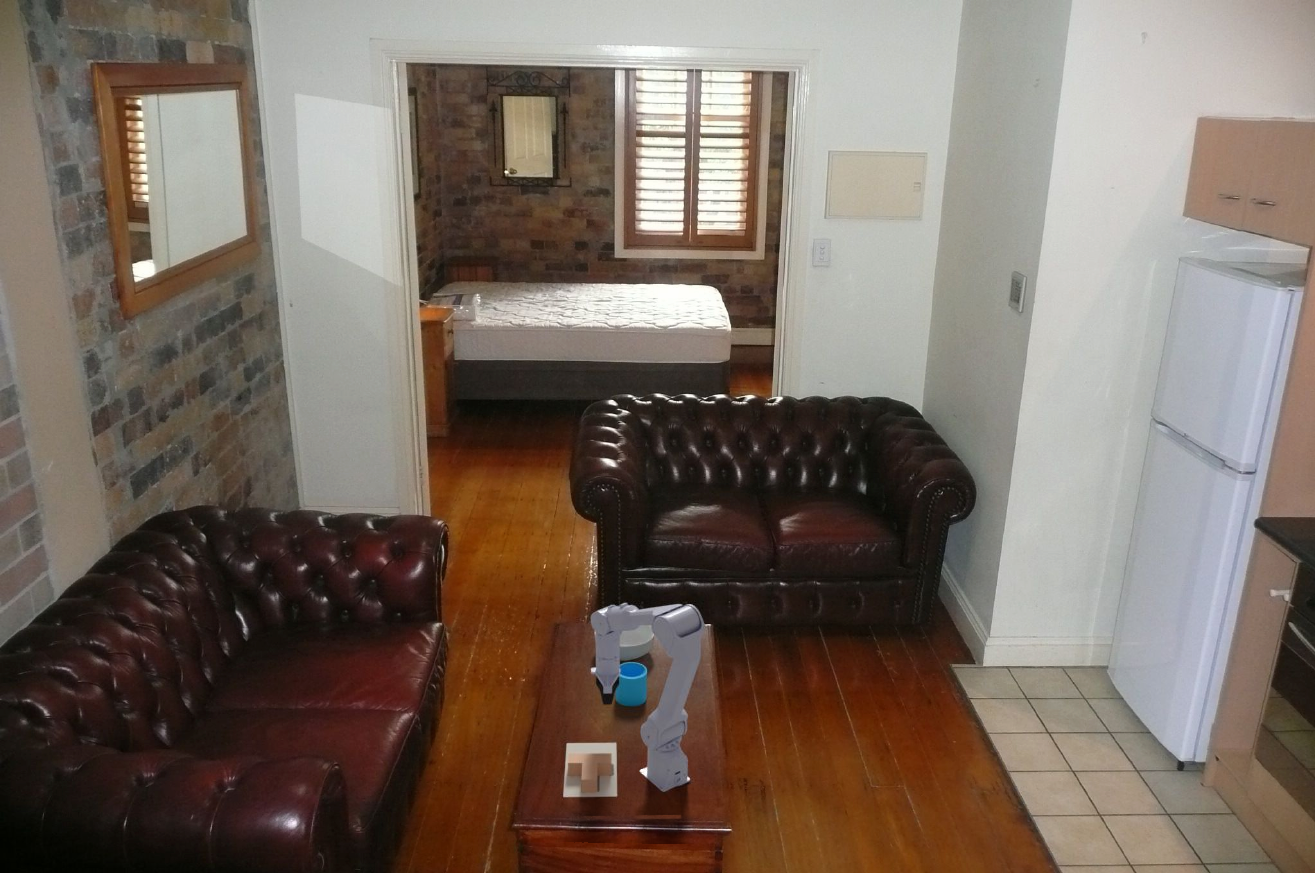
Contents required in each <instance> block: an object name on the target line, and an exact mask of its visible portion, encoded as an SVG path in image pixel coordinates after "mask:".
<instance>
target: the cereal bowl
mask: <svg viewBox="0 0 1315 873" xmlns="http://www.w3.org/2000/svg"><path fill="white" fill-rule="evenodd" d="M655 637H656V635H655V634H653V632H652V628H651V625H640V626H639V627H638V628H637V629H636V630H632V631H622V633H621V635H620V661H624V662H625V661H631V660H635V659H638V658H640V657H643V656H645V655H646V654H647V653H648V652H649V651H651V649H652V648H653V645H654V642H655ZM594 641H595V644H596V632H595V631H594Z"/></svg>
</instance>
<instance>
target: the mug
mask: <svg viewBox="0 0 1315 873" xmlns="http://www.w3.org/2000/svg"><path fill="white" fill-rule="evenodd" d="M647 682H648V669H647V667H646V666H645V665H644V664H641V663H639V662H633V661H632V662H631V661H630V662H629V661H628V662H623V663H621V664H620V675H619V685H618V687H617V689H616V691H615V701H616V703H618V704H619V705H622V706H625V707H637V706H638V707H639V706H641V705H643V704H645V703H646V700H647V692H648V691H647V690H648V687H647V686H648V685H647V684H648V683H647Z"/></svg>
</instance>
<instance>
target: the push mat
mask: <svg viewBox="0 0 1315 873" xmlns="http://www.w3.org/2000/svg"><path fill="white" fill-rule="evenodd" d="M565 750H566V751H565V763H564V766H565V767H564V777H563V778H564V779H563V798H596V797H597V798H598V797H599V798H601V797H602V798H603V797H604V798H605V797H607V798H608V797H610V798H611V797H616V798H617V797H618V772H617V770H618V769H617V765H618V762H617V761H618V760H617V758H618V756H617V742H567V743H566V748H565ZM596 753H612V776H597V793H582V776H568V755H569V754H596Z"/></svg>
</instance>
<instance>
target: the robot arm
mask: <svg viewBox="0 0 1315 873" xmlns="http://www.w3.org/2000/svg"><path fill="white" fill-rule="evenodd" d="M704 622H705V621H704V619H703V617H702V614H701V612H700V611H699V609H698V608H697V607H696V606H695V605H693V604H690V603H689V604H685V605H683V604H680V603H676V604H669V605H662V606H655V607H647V608H641V609H639V608H638V607H637V606H636V605H633V604H630V605H629V604H628V602H623V603H621V604H619V605H615V604H610V605H608V606H605V607H604V608H601V609H598V610H595V611H594V612H593V613H592V614H591V615H590V624H591V627H592V629H593V631H594V632H596V643H595V667H591V668H590V674H591V675H593V676H595V684H596V687H597V688H598V690H599V692H600V696H601V701H602V705H605V706H606V705H607V706H608V705H609V706H611V705H612V704H613V701H614V698H615V694H616V689H617V687H618V685H619V675H620V662H621V660H620V635H621V633H622V631H632V630H636V629H637V628H638V627H639V626H640V625H650V626H651V628H652V632H653V634H655V637H656V639H657V641H658V642H659V643H660V645H661V647H662V649H663V651H664V652H665V653H666V655H667V657H668V658H670V659H673V660H672V663H671V666H670V668H669V672H668V674H667V678H666V681H665V684H664V686H663V689H662V692H661V697H660V699H659V702H658V705H657V707H656V709H655V710H653V711H652V712H651V714H649V715H648V716H647V719H646V720H645V722H644V723H642V724H641V726H640V737H641V740H642V743H644V745H645V746H646V747H647V766H646V767H643V768H642V769H640V770H639V772H640V774H642V775H643V776H644V777H645V778H646V779H647V780H648V781H650V782H651V783H652V784H653V785H655V786H656V787H657V788H658V789H659V790H660V791H661V792H666V791H669V790H671V789H674V788H675V787H680V786H683V785H685V784H687V783H689V782H690V781H691V778H690V777H689V776H688V771H689V768H688V767H689V765H688V764H689V759H688V756H687V755H686V754H685V753H684V752H683V750H682V748H681V745H680V743H681V741H682V740H683V735H686V733H687V731H688V717H689V715H688V713H687V712H686V710H685V708H684V707H685V705H686V702H687V698H688V696H689V693H690V690H691V687H692V685H693V681H694V678H695V675H696V672H697V669H698V667H699V664H700V661H701V656H702V655H701V653H702V651H701V649H702V646H701V644H702V643H701V641H702V639H701V638H702V636H703V634H704V630H705V627H706V624H705V623H704Z"/></svg>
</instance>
